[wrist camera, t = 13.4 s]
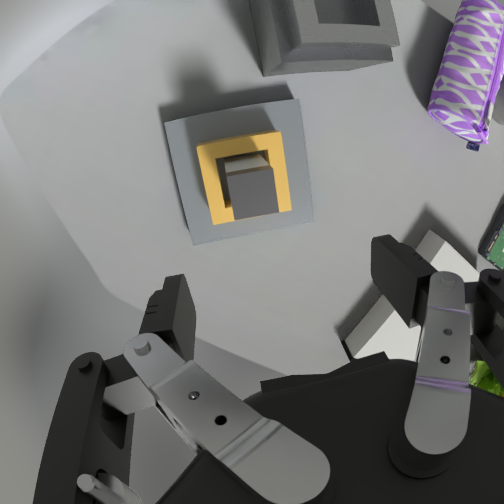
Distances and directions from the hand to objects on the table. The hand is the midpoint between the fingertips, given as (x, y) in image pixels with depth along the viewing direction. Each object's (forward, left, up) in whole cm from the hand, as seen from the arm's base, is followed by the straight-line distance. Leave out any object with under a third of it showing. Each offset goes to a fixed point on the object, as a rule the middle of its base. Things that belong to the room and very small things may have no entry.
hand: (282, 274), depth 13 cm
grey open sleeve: (-9, -15, -23) cm, 29 cm away
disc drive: (-25, +26, -24) cm, 43 cm away
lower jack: (0, 0, -23) cm, 23 cm away
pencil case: (-32, -12, -24) cm, 41 cm away
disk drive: (-47, +19, -24) cm, 56 cm away
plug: (0, 0, -21) cm, 21 cm away
